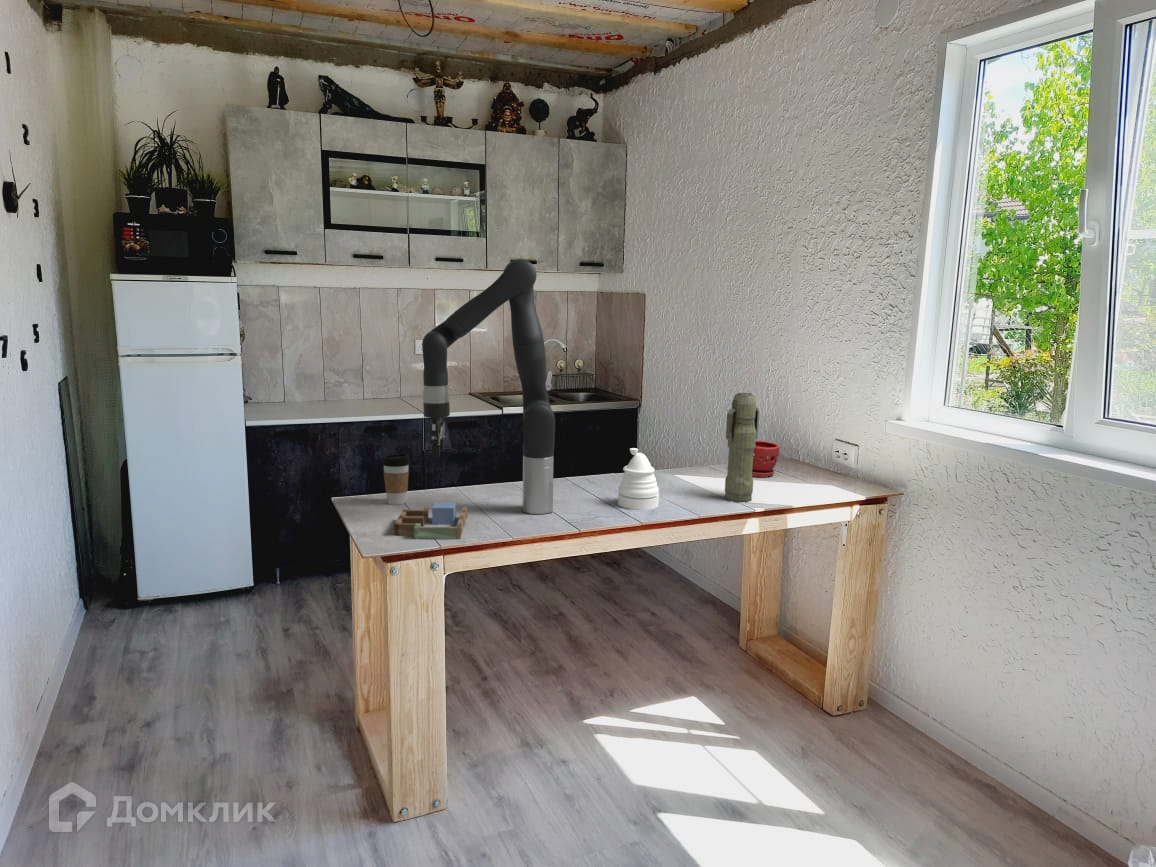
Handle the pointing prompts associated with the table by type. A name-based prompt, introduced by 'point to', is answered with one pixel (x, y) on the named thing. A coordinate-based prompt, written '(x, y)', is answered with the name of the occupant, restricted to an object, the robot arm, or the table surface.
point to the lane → (414, 525)
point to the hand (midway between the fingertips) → (437, 454)
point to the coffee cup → (396, 477)
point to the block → (444, 513)
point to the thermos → (741, 447)
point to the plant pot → (764, 458)
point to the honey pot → (638, 484)
